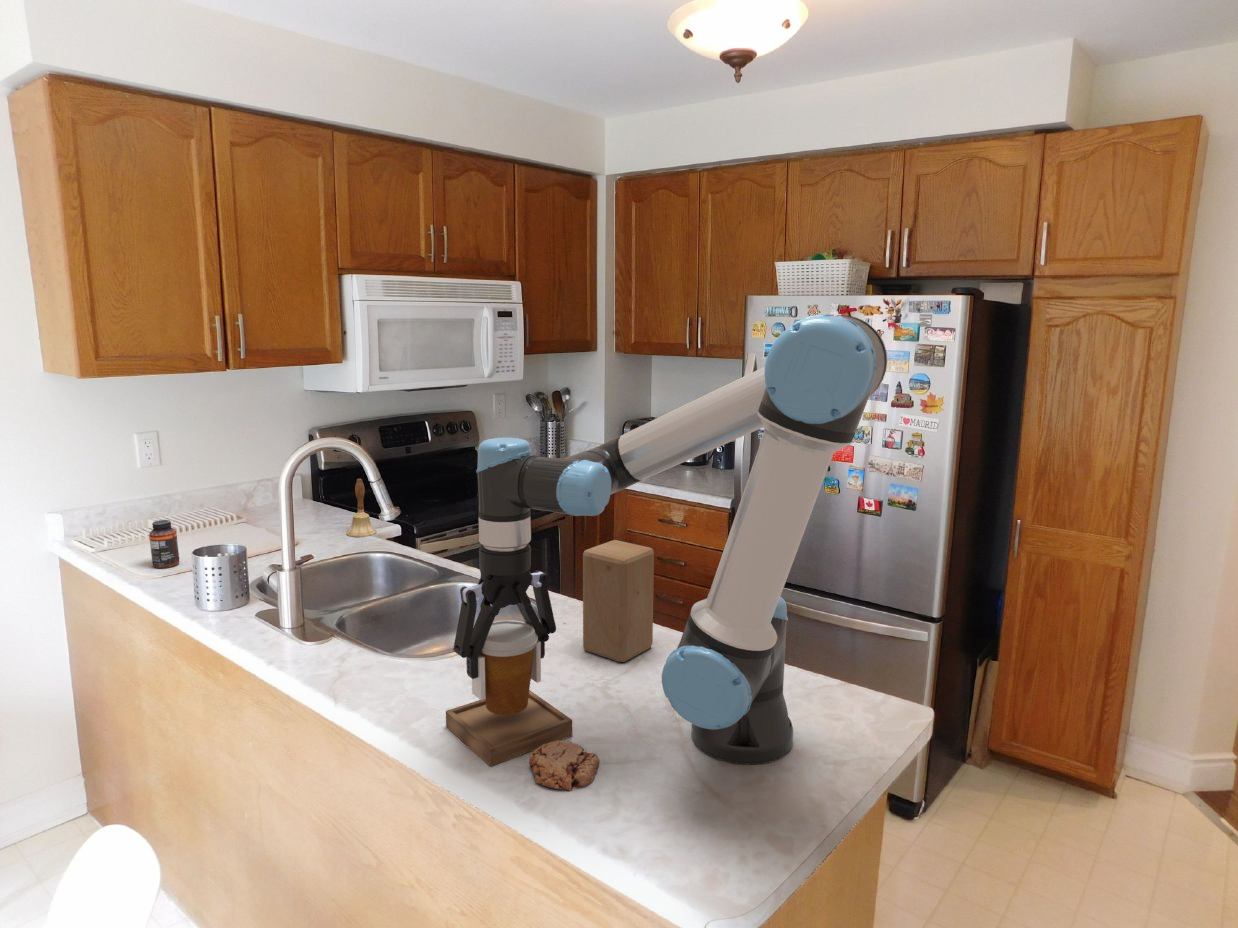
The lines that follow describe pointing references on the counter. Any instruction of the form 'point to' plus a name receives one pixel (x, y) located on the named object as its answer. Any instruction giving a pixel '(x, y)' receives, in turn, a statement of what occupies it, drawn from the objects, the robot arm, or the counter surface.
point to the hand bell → (360, 516)
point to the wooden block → (618, 599)
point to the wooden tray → (508, 728)
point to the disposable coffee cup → (508, 666)
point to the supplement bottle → (164, 545)
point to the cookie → (563, 765)
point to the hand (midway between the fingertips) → (507, 687)
